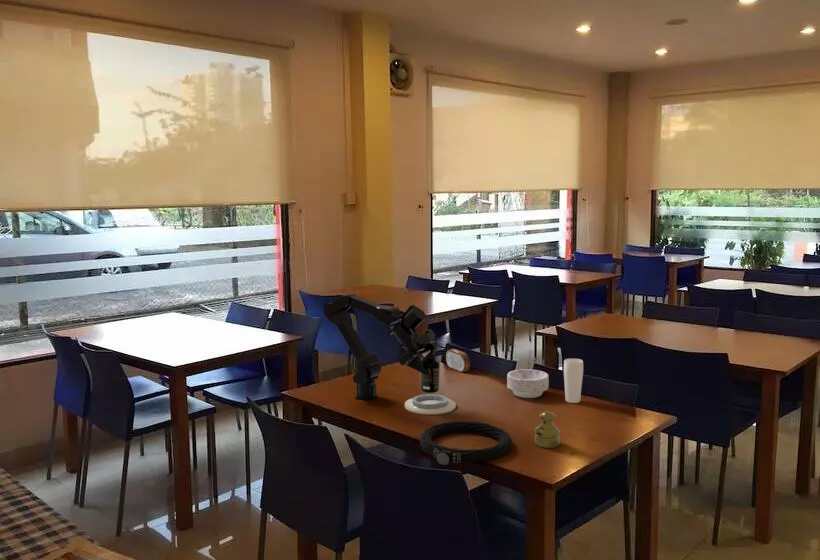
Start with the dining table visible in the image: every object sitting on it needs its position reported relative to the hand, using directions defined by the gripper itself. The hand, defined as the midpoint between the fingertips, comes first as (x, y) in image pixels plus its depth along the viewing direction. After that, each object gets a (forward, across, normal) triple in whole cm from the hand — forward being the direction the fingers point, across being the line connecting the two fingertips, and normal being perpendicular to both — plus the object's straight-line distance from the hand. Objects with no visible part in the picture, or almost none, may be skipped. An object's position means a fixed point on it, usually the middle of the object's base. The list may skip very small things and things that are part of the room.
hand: (433, 372), depth 237 cm
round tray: (+8, +3, +11) cm, 14 cm away
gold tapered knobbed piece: (+41, -11, -23) cm, 49 cm away
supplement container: (+4, 0, +6) cm, 7 cm away
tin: (-3, +52, +23) cm, 56 cm away
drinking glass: (+36, +34, -18) cm, 53 cm away
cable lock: (+27, -26, -9) cm, 39 cm away
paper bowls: (+24, +33, -6) cm, 42 cm away
